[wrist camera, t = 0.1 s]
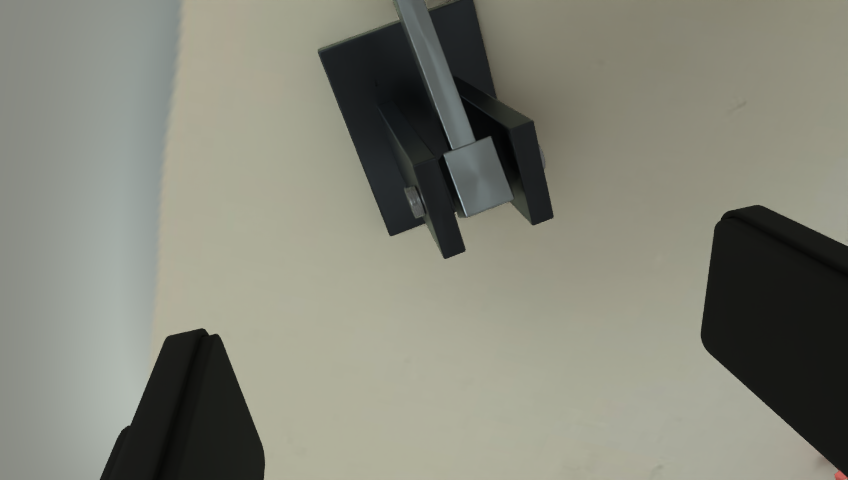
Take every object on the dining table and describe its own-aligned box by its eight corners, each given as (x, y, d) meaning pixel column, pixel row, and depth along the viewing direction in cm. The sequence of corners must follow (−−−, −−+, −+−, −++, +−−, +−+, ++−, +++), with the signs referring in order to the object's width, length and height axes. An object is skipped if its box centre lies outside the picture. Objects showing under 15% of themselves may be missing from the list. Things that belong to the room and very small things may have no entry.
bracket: (317, 49, 29) (323, 87, 18) (466, -5, 30) (564, -1, 18) (387, 229, 35) (426, 344, 24) (512, 182, 35) (609, 273, 24)
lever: (319, -46, 23) (311, -78, 21) (436, -88, 23) (440, -123, 21) (424, 231, 24) (428, 232, 21) (536, 188, 24) (552, 184, 22)
